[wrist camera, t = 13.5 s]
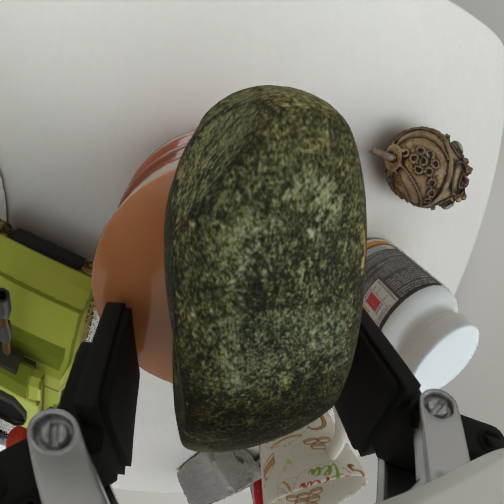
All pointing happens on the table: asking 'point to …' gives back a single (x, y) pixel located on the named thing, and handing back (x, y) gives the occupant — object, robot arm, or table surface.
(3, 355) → the toy tank
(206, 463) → the mineral specimen
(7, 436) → the grey rough flat piece
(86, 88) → the table surface
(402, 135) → the pendant
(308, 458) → the mug
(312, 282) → the decorative stone
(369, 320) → the robot arm
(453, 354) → the pill bottle
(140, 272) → the cup stack
